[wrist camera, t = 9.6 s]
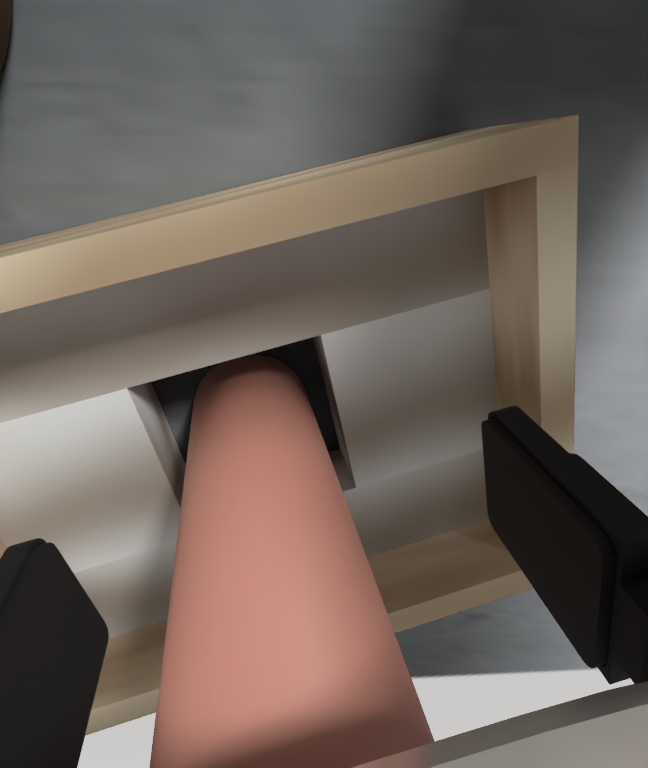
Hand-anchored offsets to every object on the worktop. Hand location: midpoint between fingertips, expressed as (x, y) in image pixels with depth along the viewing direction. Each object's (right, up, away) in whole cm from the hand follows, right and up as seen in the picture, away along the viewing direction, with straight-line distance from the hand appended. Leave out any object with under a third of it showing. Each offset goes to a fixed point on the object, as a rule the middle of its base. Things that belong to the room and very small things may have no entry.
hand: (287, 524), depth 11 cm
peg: (-2, +2, +7) cm, 7 cm away
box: (-2, +2, +7) cm, 7 cm away
